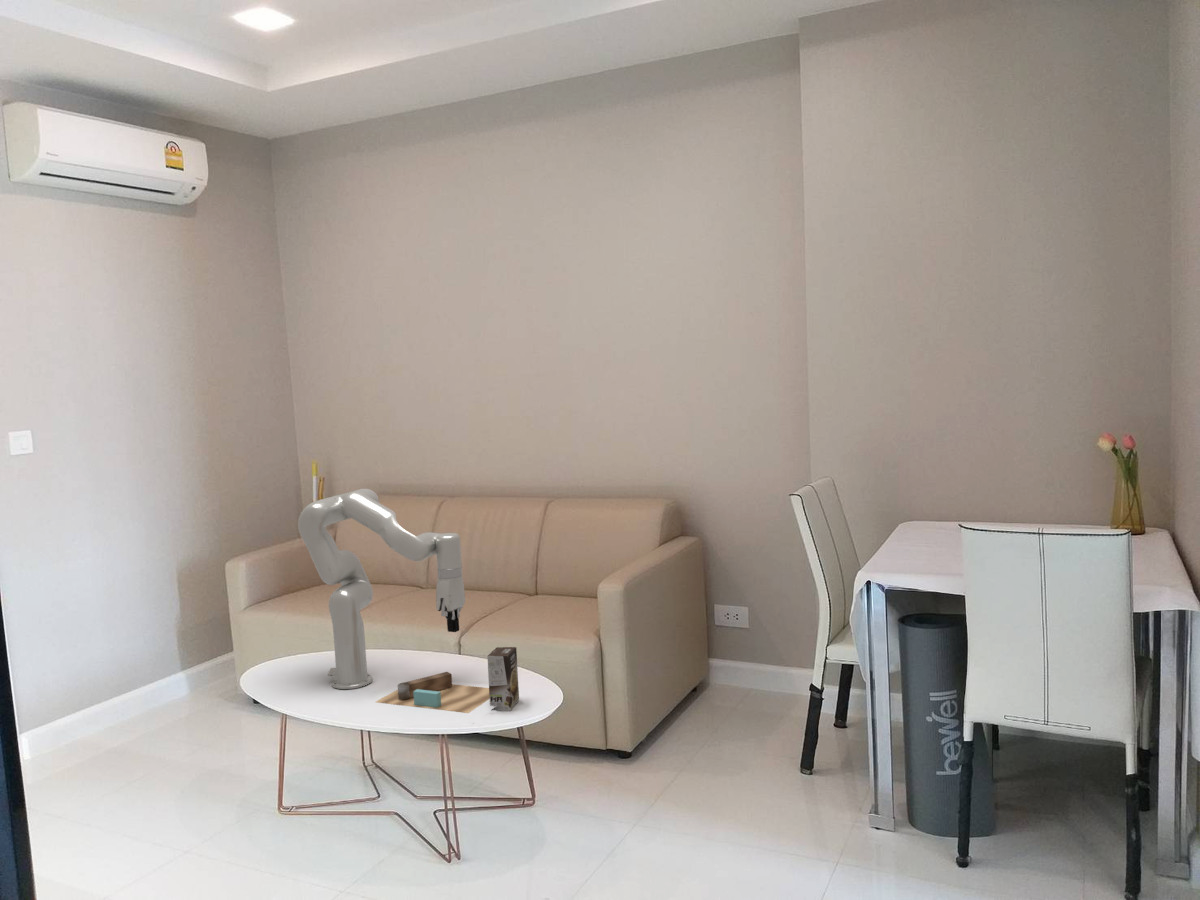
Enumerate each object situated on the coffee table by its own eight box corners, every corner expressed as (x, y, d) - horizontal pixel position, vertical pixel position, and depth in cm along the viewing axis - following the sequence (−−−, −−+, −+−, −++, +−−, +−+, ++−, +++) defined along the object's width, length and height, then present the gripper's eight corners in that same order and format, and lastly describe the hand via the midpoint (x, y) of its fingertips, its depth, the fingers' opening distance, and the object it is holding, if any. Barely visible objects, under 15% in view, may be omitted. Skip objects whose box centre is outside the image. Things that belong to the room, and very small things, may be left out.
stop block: (414, 704, 261) (413, 691, 261) (418, 702, 263) (417, 689, 263) (437, 707, 258) (436, 694, 258) (441, 705, 260) (440, 691, 260)
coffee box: (511, 711, 257) (507, 655, 255) (489, 710, 258) (486, 655, 257) (520, 700, 266) (517, 646, 264) (499, 699, 267) (496, 646, 266)
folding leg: (401, 700, 264) (400, 687, 264) (396, 697, 267) (395, 684, 267) (452, 686, 275) (451, 674, 274) (447, 684, 277) (446, 671, 277)
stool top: (375, 707, 265) (374, 702, 265) (414, 684, 284) (414, 680, 284) (468, 718, 253) (468, 713, 253) (503, 694, 271) (503, 689, 271)
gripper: (452, 567, 288) (456, 624, 289) (426, 578, 274) (429, 637, 276) (473, 568, 285) (476, 625, 286) (447, 579, 271) (450, 638, 273)
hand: (453, 631), depth 281 cm, fingers closed
